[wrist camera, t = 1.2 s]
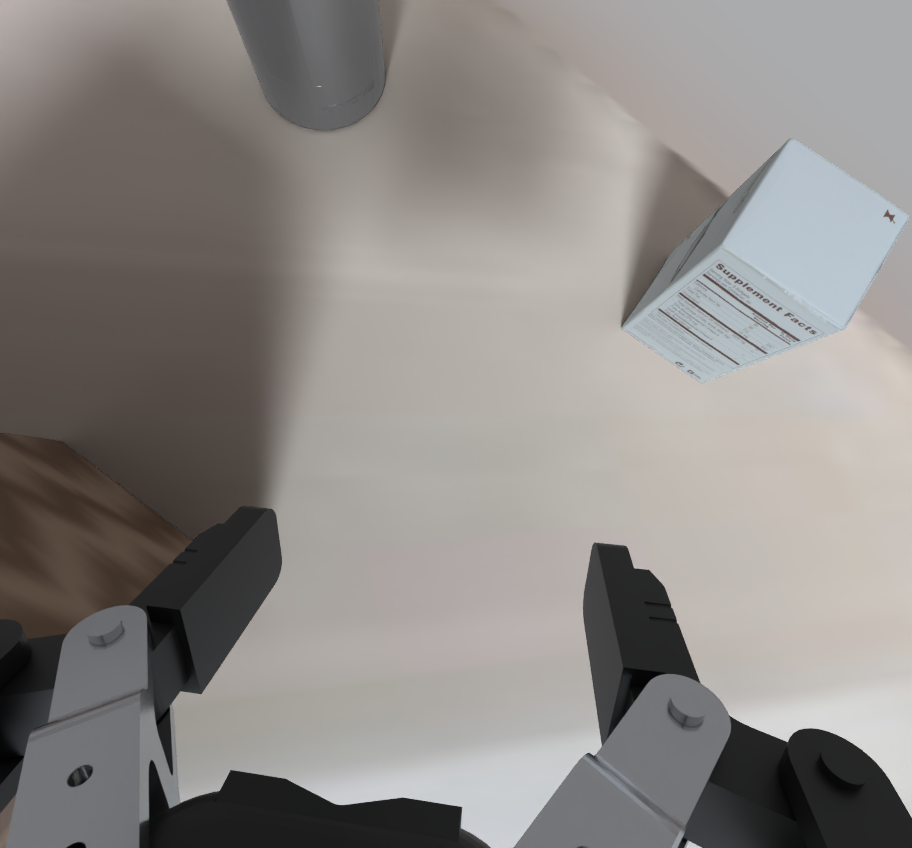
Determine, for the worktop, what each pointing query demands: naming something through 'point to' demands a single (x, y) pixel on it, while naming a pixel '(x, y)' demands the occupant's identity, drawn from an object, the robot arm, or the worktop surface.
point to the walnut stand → (70, 543)
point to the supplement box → (768, 267)
